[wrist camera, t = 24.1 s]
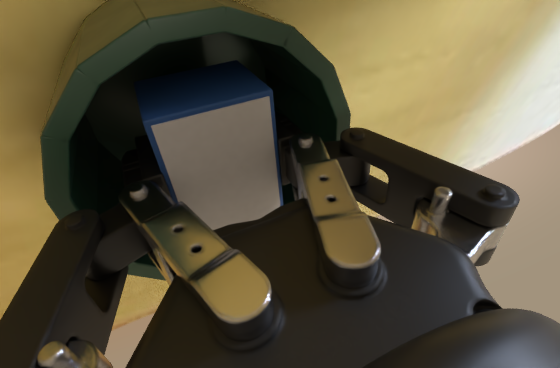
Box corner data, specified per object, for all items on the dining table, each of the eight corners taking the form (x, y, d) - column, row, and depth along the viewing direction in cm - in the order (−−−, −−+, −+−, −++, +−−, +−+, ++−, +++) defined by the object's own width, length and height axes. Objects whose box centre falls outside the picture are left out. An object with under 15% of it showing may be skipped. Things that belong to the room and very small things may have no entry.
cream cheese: (132, 81, 13) (142, 122, 10) (237, 59, 14) (274, 89, 11) (175, 198, 17) (191, 254, 14) (255, 173, 18) (286, 219, 15)
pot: (13, 2, 14) (-60, 51, 7) (263, -31, 17) (359, -16, 11) (117, 203, 21) (124, 316, 14) (279, 153, 24) (343, 228, 18)
